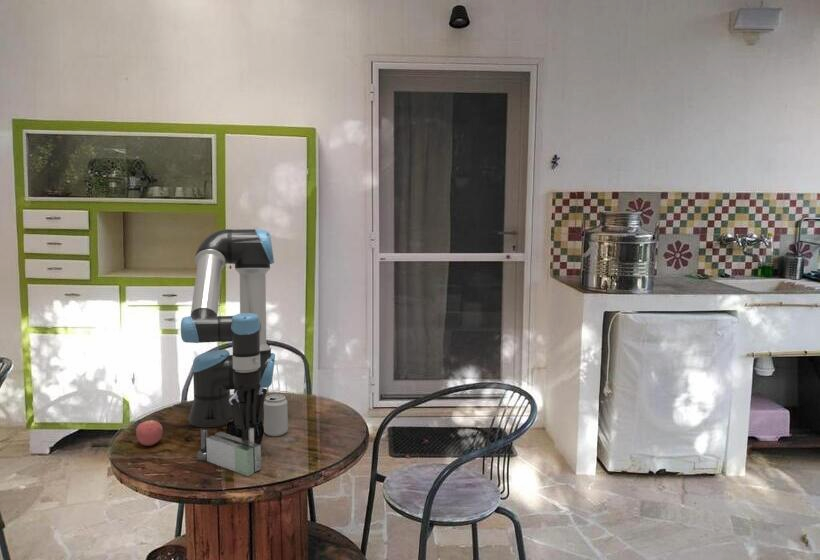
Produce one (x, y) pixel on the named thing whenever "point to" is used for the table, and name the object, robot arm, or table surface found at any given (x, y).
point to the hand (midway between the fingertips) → (249, 450)
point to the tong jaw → (247, 443)
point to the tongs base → (226, 454)
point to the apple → (149, 432)
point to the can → (275, 415)
